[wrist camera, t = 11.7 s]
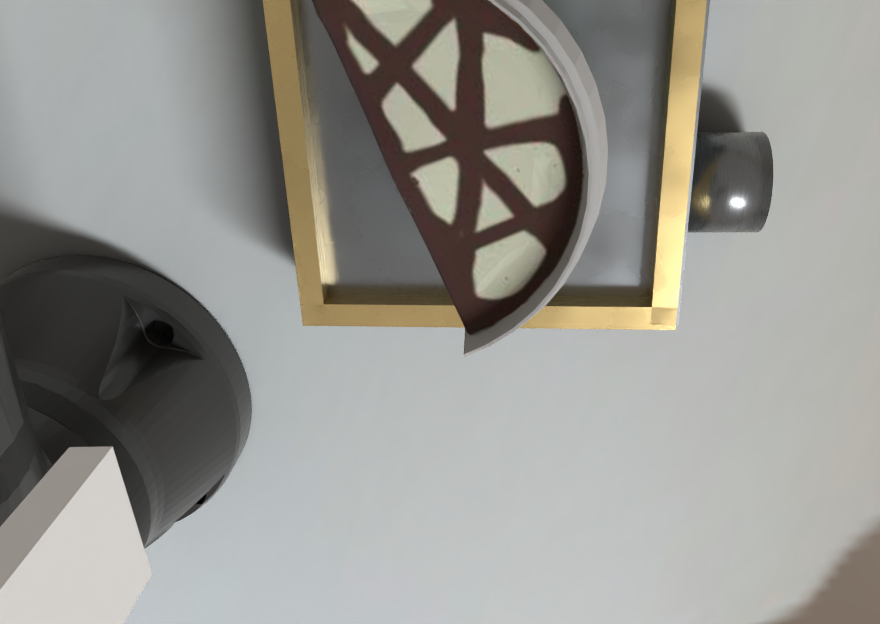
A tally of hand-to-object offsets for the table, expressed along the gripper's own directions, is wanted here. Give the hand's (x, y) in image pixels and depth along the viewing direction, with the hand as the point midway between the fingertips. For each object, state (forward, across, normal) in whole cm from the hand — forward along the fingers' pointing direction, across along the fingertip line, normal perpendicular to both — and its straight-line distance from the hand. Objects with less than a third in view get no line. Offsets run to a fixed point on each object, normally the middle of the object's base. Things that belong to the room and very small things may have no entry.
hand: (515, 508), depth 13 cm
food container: (+21, -1, +3) cm, 21 cm away
